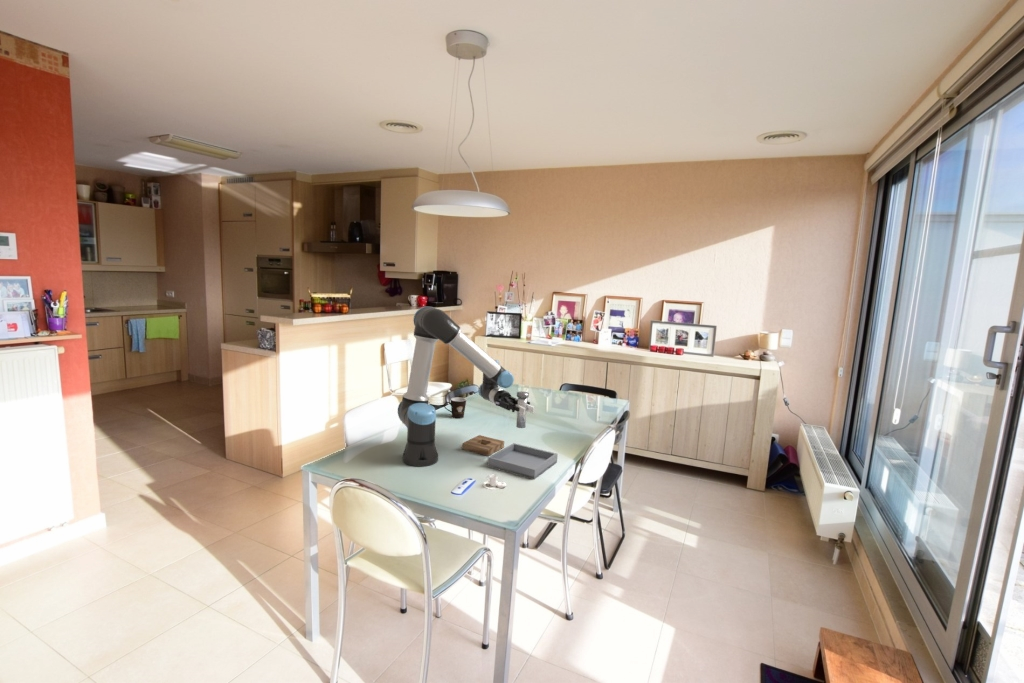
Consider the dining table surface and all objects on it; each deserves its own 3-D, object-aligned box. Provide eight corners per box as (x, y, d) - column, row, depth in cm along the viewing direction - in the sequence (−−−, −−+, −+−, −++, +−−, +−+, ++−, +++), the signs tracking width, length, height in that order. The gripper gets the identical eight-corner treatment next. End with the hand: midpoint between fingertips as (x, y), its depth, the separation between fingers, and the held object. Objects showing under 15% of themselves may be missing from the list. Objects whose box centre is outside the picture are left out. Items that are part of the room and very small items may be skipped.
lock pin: (523, 429, 214) (525, 395, 212) (512, 427, 216) (514, 393, 214) (528, 426, 218) (531, 392, 216) (518, 424, 221) (520, 390, 219)
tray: (534, 479, 201) (535, 469, 200) (487, 466, 211) (488, 457, 210) (557, 462, 220) (557, 453, 219) (513, 451, 230) (513, 443, 230)
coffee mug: (467, 415, 282) (467, 398, 281) (464, 419, 274) (464, 402, 272) (446, 413, 283) (447, 396, 282) (443, 418, 275) (443, 400, 273)
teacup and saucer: (509, 487, 193) (509, 477, 192) (493, 493, 187) (494, 482, 187) (493, 480, 199) (494, 470, 198) (478, 485, 194) (479, 475, 193)
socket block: (488, 456, 223) (488, 449, 222) (462, 449, 229) (462, 443, 229) (504, 447, 235) (504, 441, 234) (479, 441, 241) (479, 435, 241)
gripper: (515, 403, 236) (544, 417, 217) (483, 407, 227) (511, 421, 207) (516, 388, 235) (546, 400, 216) (484, 391, 226) (512, 404, 206)
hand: (529, 410), depth 212 cm, fingers closed on lock pin, 4 cm apart
